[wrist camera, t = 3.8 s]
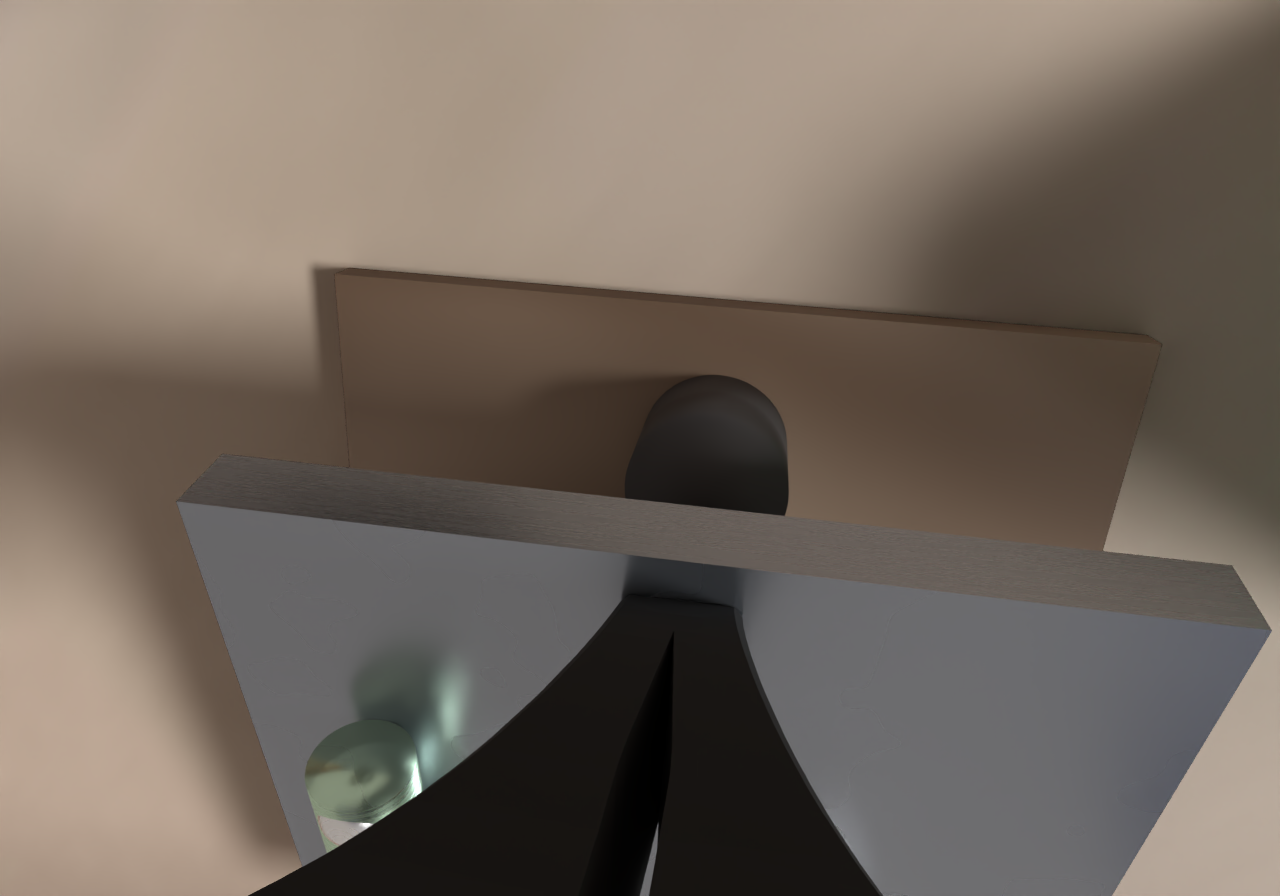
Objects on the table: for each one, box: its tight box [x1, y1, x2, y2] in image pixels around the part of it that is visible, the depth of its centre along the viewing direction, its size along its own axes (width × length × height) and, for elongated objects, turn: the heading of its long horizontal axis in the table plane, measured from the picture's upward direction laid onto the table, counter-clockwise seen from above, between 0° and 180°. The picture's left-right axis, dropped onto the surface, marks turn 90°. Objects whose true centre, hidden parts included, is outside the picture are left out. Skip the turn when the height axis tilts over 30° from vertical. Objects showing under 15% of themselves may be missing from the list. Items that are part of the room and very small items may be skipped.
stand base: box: [334, 268, 1162, 551], centre depth 17 cm, size 16×14×3 cm
